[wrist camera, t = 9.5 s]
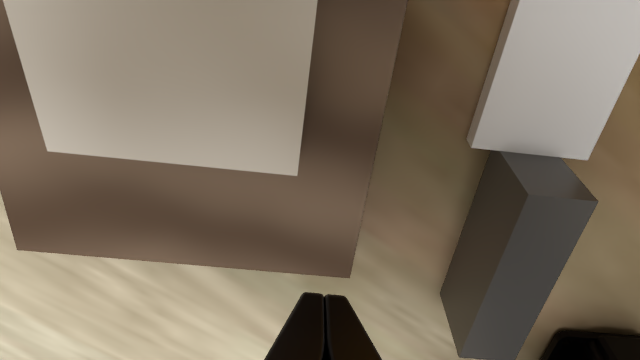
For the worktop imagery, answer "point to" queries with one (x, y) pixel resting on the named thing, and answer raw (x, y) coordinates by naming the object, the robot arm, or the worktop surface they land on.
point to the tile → (169, 78)
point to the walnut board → (215, 170)
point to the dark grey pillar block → (534, 163)
